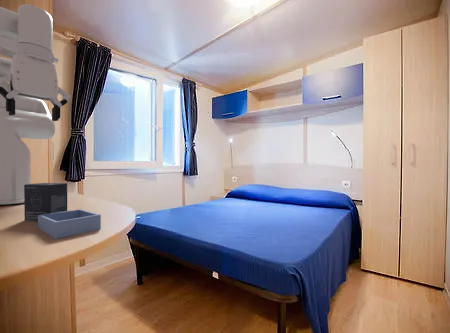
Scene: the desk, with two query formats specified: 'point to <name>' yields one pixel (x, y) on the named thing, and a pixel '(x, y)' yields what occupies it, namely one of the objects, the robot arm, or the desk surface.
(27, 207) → the box
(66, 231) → the tray
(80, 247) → the desk surface
